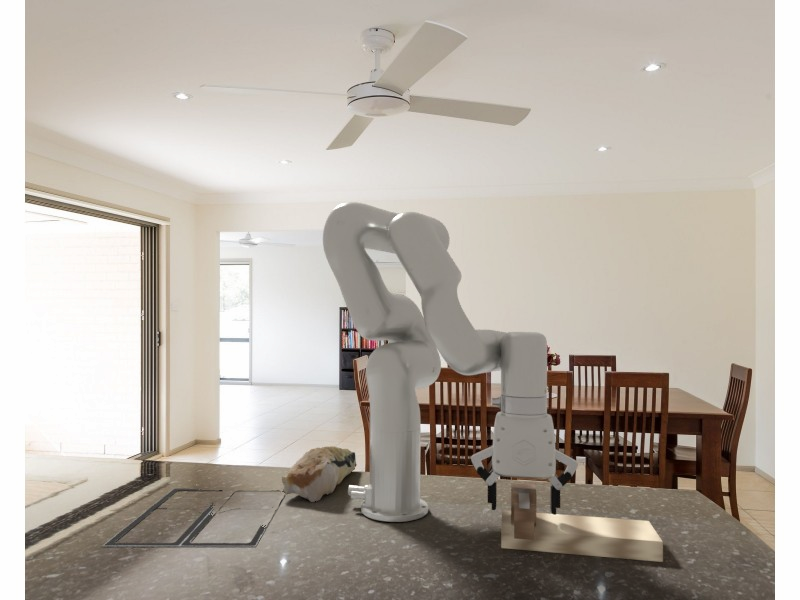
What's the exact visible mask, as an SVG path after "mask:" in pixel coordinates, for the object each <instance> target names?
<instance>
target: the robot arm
mask: <svg viewBox="0 0 800 600" xmlns="http://www.w3.org/2000/svg"><path fill="white" fill-rule="evenodd" d="M322 246H323V250H324V251H323V252H324V255H325V257H326V261H327V262H328V264H329V265H328V266H329V267H330V269H331V271H332V273H333V275H334V277H335V279H336V282H337V283H338V286H339V289H340V292H341V295H342V298H343V300H344V303H345V305H346V308H347V311H348V313H349V315H350V318H351V320H352V322H353V325H354V328H355V329H356V331H357V333H358V335H359V336H360V337H362V338H363V339H365V340H368V341H376V342H379V341H380V342H381V341H387V342H388V343H384V344H381V345H380V346H378V347H377V348H375V349H374V350H373V351H372V352H371V353H370V355H369V356H368V359H367V361H366V365H365V378H366V379H365V380H366V385H367V389H368V397H369V410H370V411H369V413H370V414H369V415H370V419H369V426H370V427H369V428H370V429H369V431H370V433H369V484H365V485H364V486H359V485H355V484H354V485H353V484H349V485H348V487H347V488H348V489H347V494H348V496H350V499H356V500H361V499H362V501H363V502H361V505H360V511H361V514H363V515H364V516H365V517H366V518H369V519H372V520H375V521H380V522H387V523H388V522H389V523H402V522H411V521H415V520H419V519H421V518H423V517H424V516H426V515H427V514H428V512H429V504H428V503H427V502H426V501H425V500H424V499H421V435H422V433H421V432H422V431H421V410H420V409H421V407H420V404H419V401H418V396H417V392H416V390H420V389H425V388H427V387H429V386H431V385H433V384H434V383H435V382H436V381H437V380H438V378H439V376H440V373H441V370H442V362H441V361H442V360H441V357H442V359H443V360H444V361H445V363H446V364H447V365H448V366H449V367H450V368H451V370H453V371H454V372H456V373H458V374H460V375H462V376H476V375H480V374H485V373H491V372H499V371H500V395H499V396H497V397H492V398H491V399H492V400H491V401H492V402H491V403H492V405H491V406H492V407H496V408H499V409H500V411H498V412H497V413H496V415H495V419H494V425H493V433H492V434H493V435H492V445H491V446H489V447H487V448H484V449H483V450H480V451H478V452H476V453H474V454H472V455H471V457H470V459H471V463H472V465H473V466H474V467H473V468H474V469H475V470H476V473H477V474H478V476H479V477H481V479H482V480H483V481H484V482H485V484H486V485H487V504H491V511H495V510H497V482H496V481H497V480H498V479H499V478H500V476H501V477H505V478H518V479H519V478H520V479H533V480H534V479H538V480H548V481H549V483H551V485H550V496H549V497H550V505H549V506H550V514H553V515H556V514H557V509H560V508H561V490H562V489H563V487H565V485H566V484H567V483H569V482H570V481H571V480H572V478H573V475H574V474H575V472H576V470H577V469H578V468H579V464H578V461H577V460H576V459H574V458H572V457H570V456H568V455H567V454H564V453H563V452H561V451H559V450H558V449H556V437H555V428H554V421H553V417H552V415H551V414H549V413H548V394H547V393H548V389H547V388H548V341H547V337H546V336H545V335H544V334H543V333H541V332H537V331H535V332H534V331H508V332H506V331H505V332H504V331H499V330H494V329H493V330H492V329H475V327H474V326H473V324H472V323H471V321H470V319H469V318H468V317H467V315H466V313H465V311H464V309H463V308H462V305H461V303H460V300H459V297H458V287H459V284H460V282H461V280H462V272H461V270H460V269H459V267H458V265H457V264H456V262H455V261H454V259H453V258H452V257H451V254H450V253H449V251H448V250H449V246H450V234H449V230H448V229H447V227H446V225H445V224H444V223H443V222H441V221H440V220H439V219H436V218H435V217H432V216H429V215H426V214H423V213H419V212H415V211H406V212H402V213H398V212H394V211H388V210H386V209H383V208H379V207H375V206H372V205H369V204H366V203H362V202H357V201H354V202H353V201H348V202H344V203H340V204H338V205H337V206H336V207H334V208H333V209H332V210H331V211H330V214H329V215H328V217H327V218H326V221H325V224H324V226H323V231H322ZM366 249H370V250H375V251H379V252H386V253H390V254H395V255H396V257H397V258H398V260H399V262H400V263H401V265H402V267H403V268H404V270H405V272H406V274H407V275H408V277H409V278H410V280H411V281H412V283H413V285H414V287H415V289H416V290H417V292H418V294H419V296H420V299H421V310H422V312H421V310H420V308H419V307H418V305H417V304H416V303H415V302H414V301H413V300H412V299H411V298H409V296H406V295H403V294H402V293H401V294H400V293H392V292H390V291H389V289H388V288H387V286H386V283H385V282H384V280H383V277H382V275H381V272H380V270H379V268H378V266H377V264H376V263H375V262H374V260H373V259H372V257H370V255H369V254H368V252H367V251H366ZM440 355H441V356H440ZM490 457H491V462H492V463H491V465H492V468H491V470H490V471H488V469H487V468H486V467H485V466H484V465H483V462H482V461H484V460H486V459H487V458H490ZM557 461H558V462H560V463H562V464H564V465H566V468H565V470H564V471H563V472H562V473H561V474H560V475H559V476H558V475H557V474H556V469H557V468H556V467H557V465H556V464H557Z"/></svg>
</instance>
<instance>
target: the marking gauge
mask: <svg viewBox="0 0 800 600" xmlns="http://www.w3.org/2000/svg"><path fill="white" fill-rule="evenodd" d="M510 488H511V490H510V511H511V523H514V538H515V539H527V540H534V525H536V513H537V489H536V488H537V487H536V484H527V483H526V484H525V483H513V482H512V483H510Z"/></svg>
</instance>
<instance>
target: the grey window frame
mask: <svg viewBox="0 0 800 600" xmlns="http://www.w3.org/2000/svg"><path fill="white" fill-rule="evenodd" d="M199 488H200V487H199ZM199 488H192V487H191V488H190V487H189V488H187V487H186V488H182V487H181V488H178V487H177V488H176V487H174V488H172V489H171V490H170V491H169V492H168V493H166V494H165V495H164V496H162V497H161V498H160V499H158V501H156V502H155V503H154V504H152V505H151V506H150V507H149V508H147V510H145V511H144V512H142V513H141V514H140V515H139V516H137V517H136V518H135V519H134V520H132V522H130V523H129V524H127V525H126V526H125V527H124V528H122V529H121V530H120V531H119V532H117V533H116V534H115V535H114V536H113V537H111V538H110V539H109V540H107V541H106V542H105V543H104V544H103V545H101V547H102V548H257V546H258V544H259V542H260V541H259V540H261V539H262V537H263V535H264V534H263V533H265V532H266V530H264V529H265V528H266V527H265V526H266V525H265V526H264V527H265V528H264V527H262V526H263V525H262V526H261V525H260V526H259V527H258V529H257V531H256V532H255V534H254V535H253V536H252V539H251V541H250V542H245V543H244V542H193V541H194V540H195V539H196V537H197V536H199V534H200V533H201V532H200V531H203V529H204V528H205V527H206V526H207V525H208V524H209V522H210V521H211V520H212V519H213V518H214V517H213V516H212V515H211V513H212V511H213V510H214V509H213V507H212V506H213V504H212V503H211V504H212V505H210V506H209V507H206V508H205V510H203V511H204V512H203V513H202V514H201V513H200V515H199V516H198V517H197V519H195V520H194V522H193V523H191V525H190V526H189V527H188V528H187V529H186V530H185V531H184V532H183V533H182V534H181V535H180V537H178V538H177V539H176V541H174V542H118V541H119V540H120V539H121V538H123V537H124V536H125V535H127V534H128V533H129V532H130V531H131V530H132V529H134V528H135V527H136V526H137V525H139V523H141V522H142V521H143V520H145V519H146V518H147V517H148V516H149V515H151V514H152V513H153V512H154V511H156V510H168V509H167V508H168V507H160V506H161V505H163V504H164V503H165V502H166V501H168V500H169V499H170V498H171V497H173V495H175V494H176V493H177V491H178V492H198V491H197V490H199ZM202 489H203V488H200V490H202ZM189 490H190V491H189ZM191 490H193V491H191ZM194 490H196V491H194ZM175 492H176V493H175ZM174 493H175V494H174ZM169 497H170V498H169ZM168 498H169V499H168ZM162 503H163V504H162ZM214 506H215V505H214ZM211 507H212V508H211ZM156 508H157V509H156ZM212 509H213V510H212ZM151 512H152V513H151ZM209 514H210V515H209ZM212 514H213V513H212ZM145 517H146V518H145ZM212 517H213V518H212ZM211 518H212V519H211ZM210 519H211V520H210ZM209 520H210V521H209ZM206 524H207V525H206ZM205 525H206V526H205ZM266 529H267V528H266ZM264 531H265V532H264ZM199 532H200V533H199ZM260 538H261V539H260Z"/></svg>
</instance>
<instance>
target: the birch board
mask: <svg viewBox="0 0 800 600" xmlns="http://www.w3.org/2000/svg"><path fill="white" fill-rule="evenodd" d="M501 512H502V513H501V528H500V530H501V533H500V534H501V535H500V541H501V542H500V544H501V545H500V547H501V549H509V550H511V549H512V550H520V551H521V550H523V551H534V552H544V553H545V552H546V553H555V554H556V553H557V554H565V555H566V554H567V555H568V554H569V555H580V556H588V557H589V556H590V557H601V558H603V557H604V558H612V559H623V560H624V559H626V560H636V561H645V562H646V561H648V562H659V563H663V562H664V547H663V546H664V542H663V540H662V539H661V537H660V536H659V534H658V532H657V531H656V530H655V528H654V527H653V525H652V523H651V522H650V521H649V520H642V519H628V518H627V519H626V518H613V517H612V518H611V517H601V516H587V515H574V514H559V513H556V515H553V514H552V513H547V512H536V525H534V540H527V539H515V538H514V523H511V510H504V509H502V510H501Z"/></svg>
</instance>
